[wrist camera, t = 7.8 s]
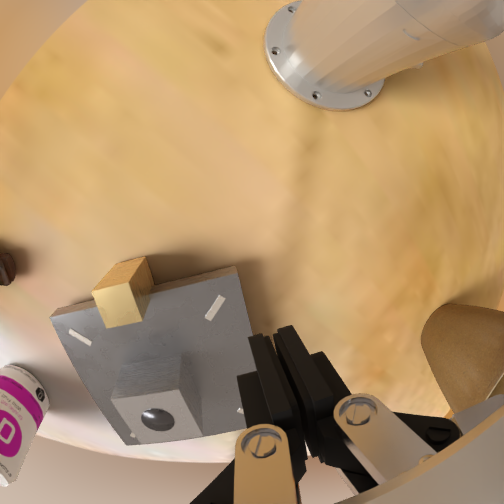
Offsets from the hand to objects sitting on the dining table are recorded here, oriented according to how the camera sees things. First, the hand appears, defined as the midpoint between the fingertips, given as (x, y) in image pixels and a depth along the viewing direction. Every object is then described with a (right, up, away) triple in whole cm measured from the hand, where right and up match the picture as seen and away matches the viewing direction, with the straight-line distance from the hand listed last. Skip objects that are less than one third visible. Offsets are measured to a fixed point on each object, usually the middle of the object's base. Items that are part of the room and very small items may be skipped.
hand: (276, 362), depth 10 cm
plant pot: (+25, -7, +24) cm, 35 cm away
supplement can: (-31, -14, +16) cm, 37 cm away
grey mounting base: (-10, -6, +17) cm, 21 cm away
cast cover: (-9, -8, +15) cm, 19 cm away
